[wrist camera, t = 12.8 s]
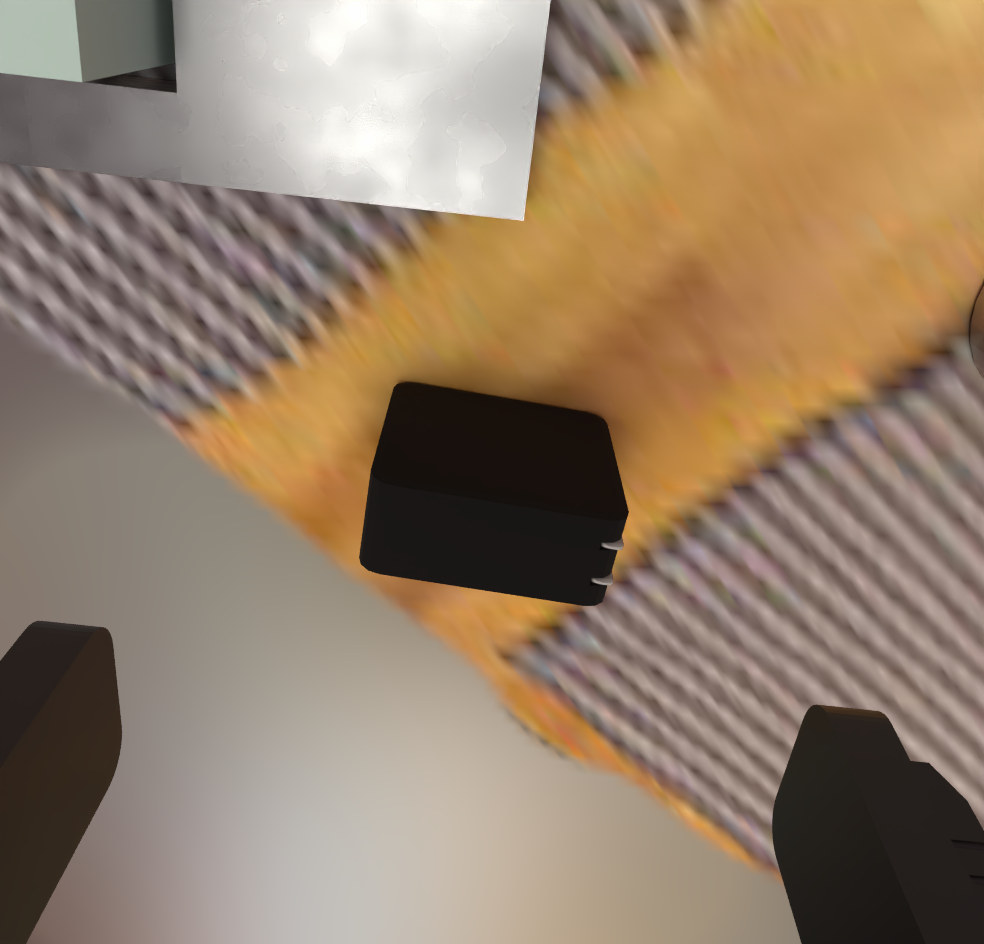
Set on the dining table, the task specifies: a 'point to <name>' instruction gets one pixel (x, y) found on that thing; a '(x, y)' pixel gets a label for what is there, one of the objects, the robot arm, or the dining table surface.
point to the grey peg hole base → (311, 104)
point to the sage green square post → (85, 37)
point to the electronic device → (494, 496)
